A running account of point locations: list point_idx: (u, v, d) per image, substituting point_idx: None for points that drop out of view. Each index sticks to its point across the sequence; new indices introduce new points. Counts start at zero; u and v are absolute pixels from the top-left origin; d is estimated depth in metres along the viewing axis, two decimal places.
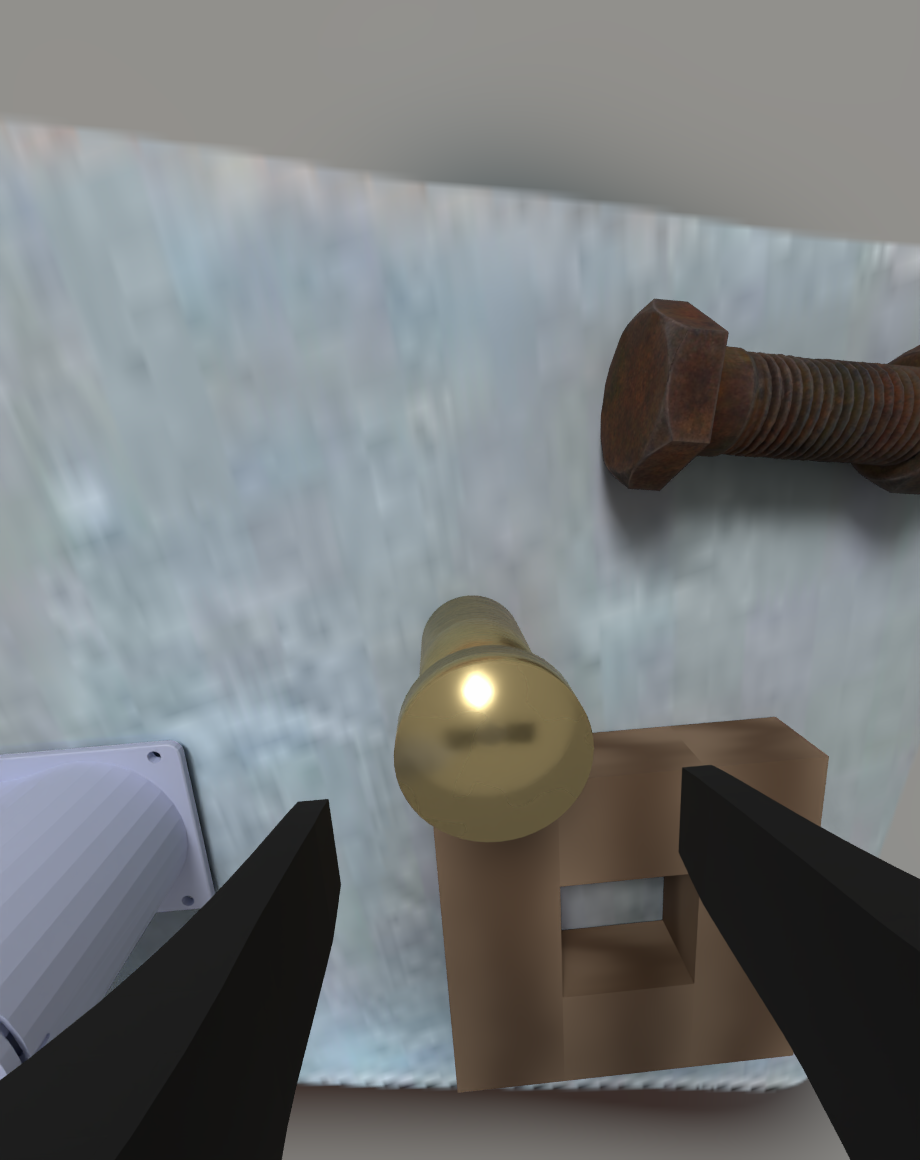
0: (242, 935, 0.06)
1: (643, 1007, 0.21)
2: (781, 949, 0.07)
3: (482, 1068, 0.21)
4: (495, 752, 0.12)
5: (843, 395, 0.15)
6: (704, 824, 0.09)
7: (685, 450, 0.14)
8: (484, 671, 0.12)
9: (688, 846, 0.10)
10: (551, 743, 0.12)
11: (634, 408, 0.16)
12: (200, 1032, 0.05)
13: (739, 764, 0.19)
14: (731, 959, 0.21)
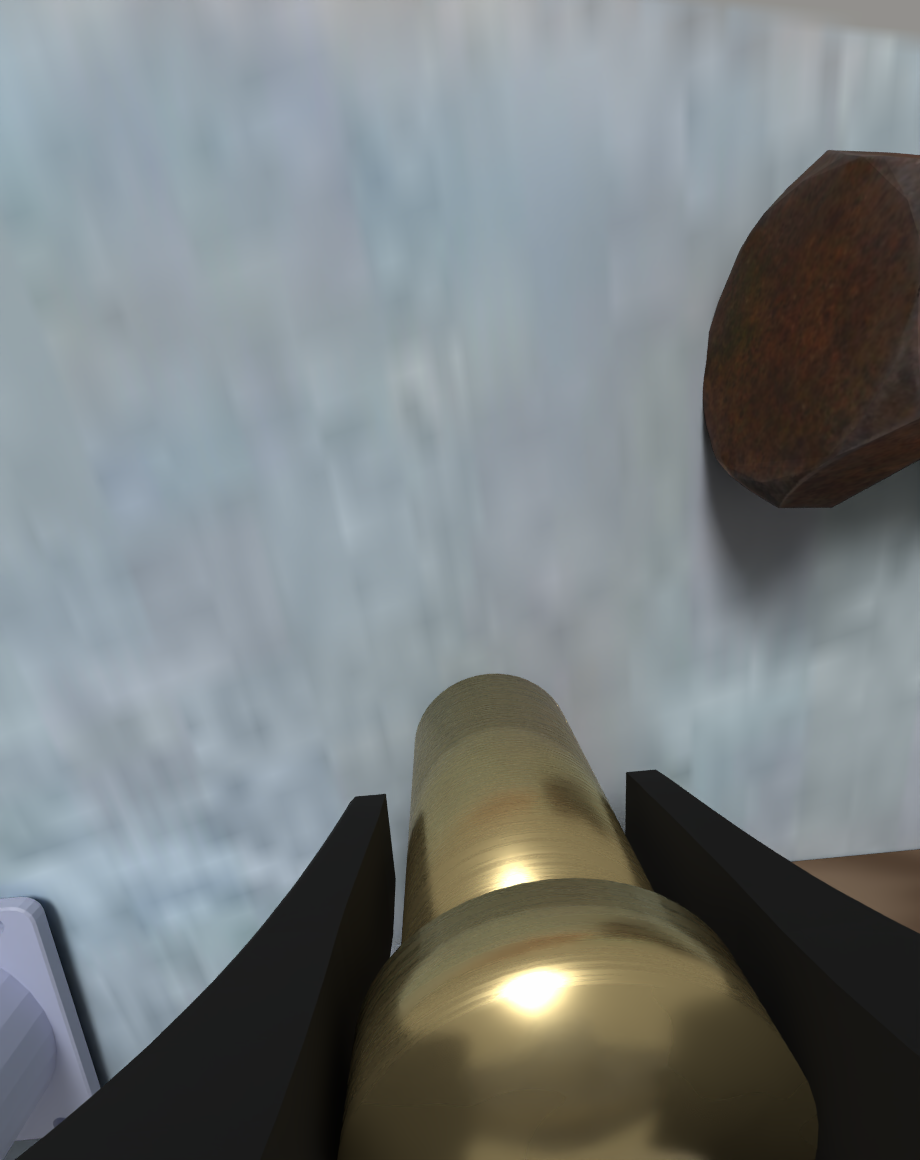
0: (331, 926, 0.06)
1: None
2: None
3: None
4: None
5: None
6: (644, 830, 0.09)
7: None
8: (564, 1004, 0.05)
9: None
10: (718, 1143, 0.05)
11: (799, 361, 0.08)
12: (312, 1020, 0.05)
13: None
14: None
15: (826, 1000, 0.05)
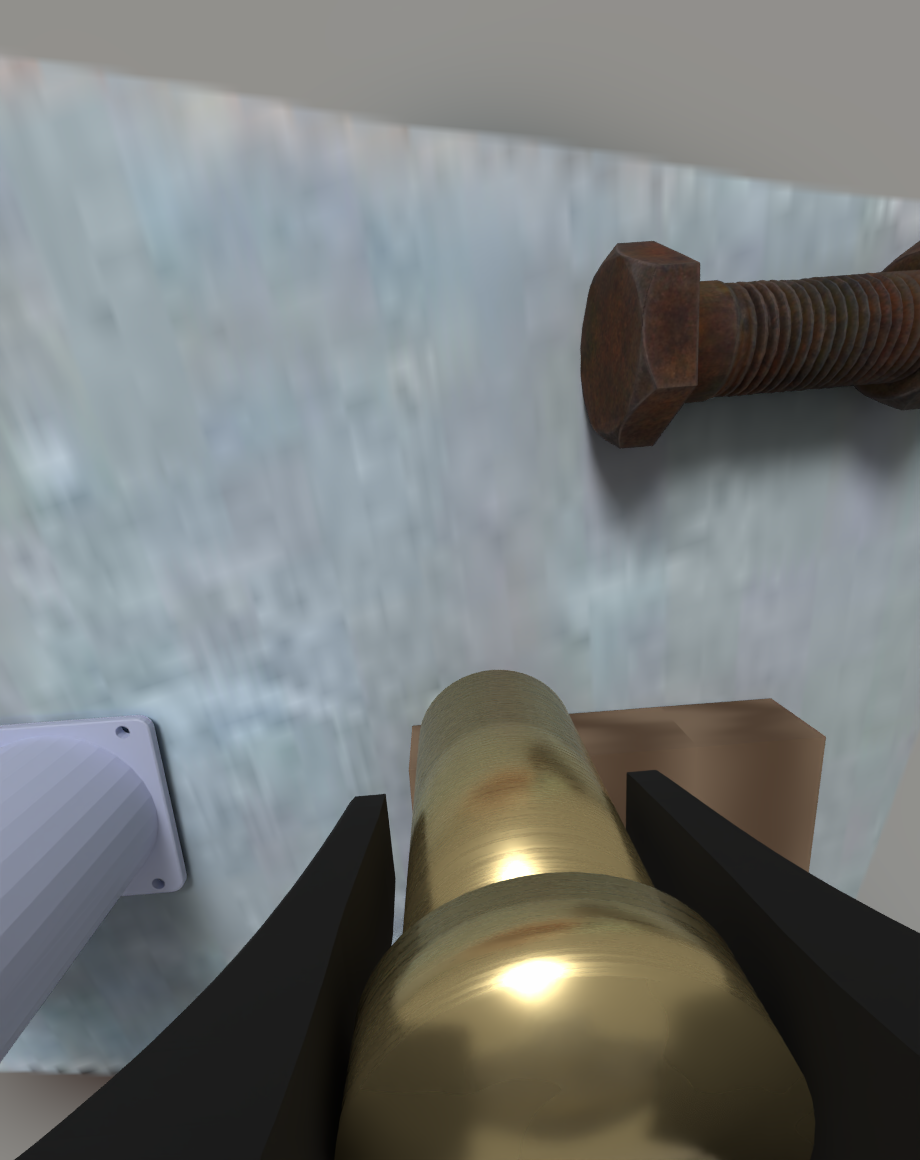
0: (331, 926, 0.06)
1: None
2: None
3: None
4: (578, 1157, 0.05)
5: (835, 312, 0.14)
6: (644, 830, 0.09)
7: (672, 397, 0.14)
8: (559, 995, 0.05)
9: None
10: (715, 1138, 0.05)
11: (613, 362, 0.15)
12: (311, 1020, 0.05)
13: (732, 743, 0.18)
14: None
15: (827, 1000, 0.05)
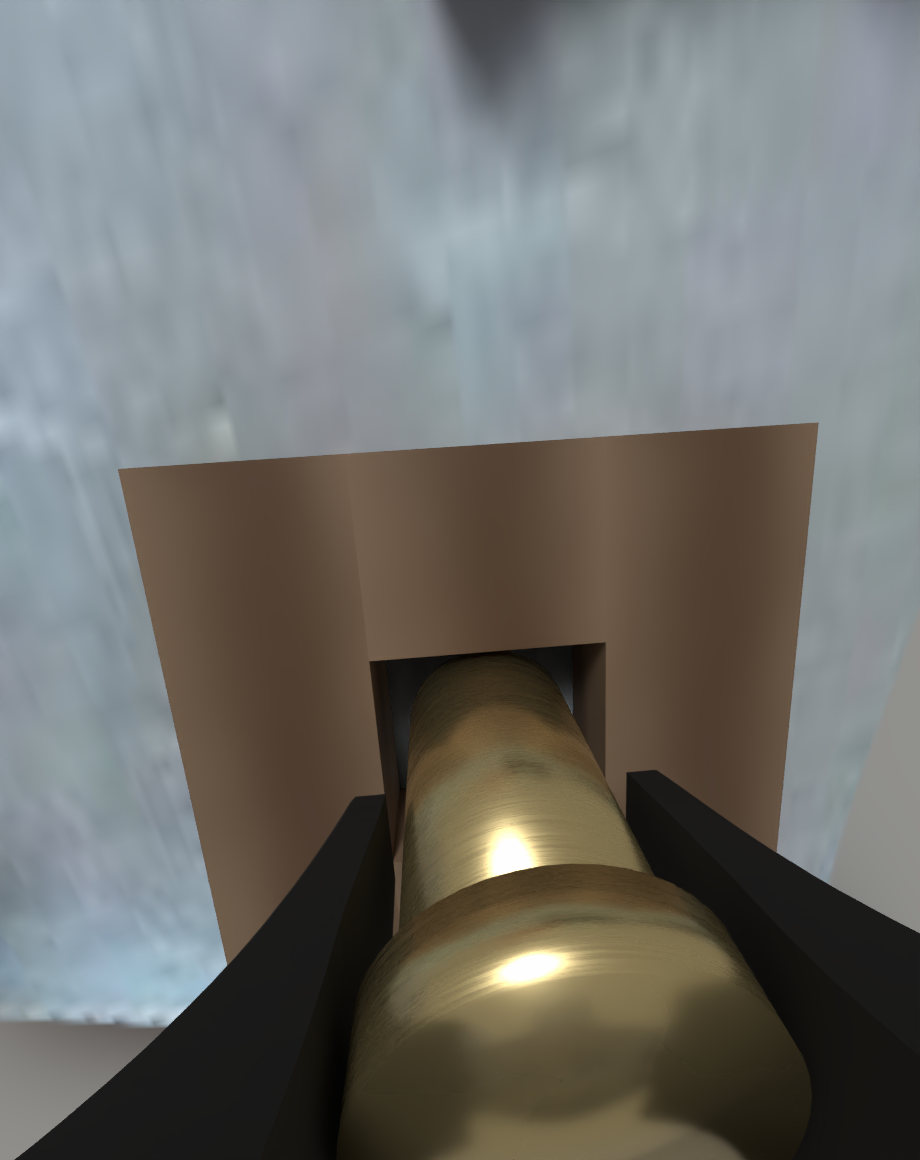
0: (331, 926, 0.06)
1: None
2: None
3: None
4: (580, 1141, 0.05)
5: None
6: (644, 830, 0.09)
7: None
8: (558, 995, 0.05)
9: None
10: (713, 1114, 0.05)
11: None
12: (311, 1020, 0.05)
13: (663, 433, 0.11)
14: None
15: (827, 1001, 0.05)
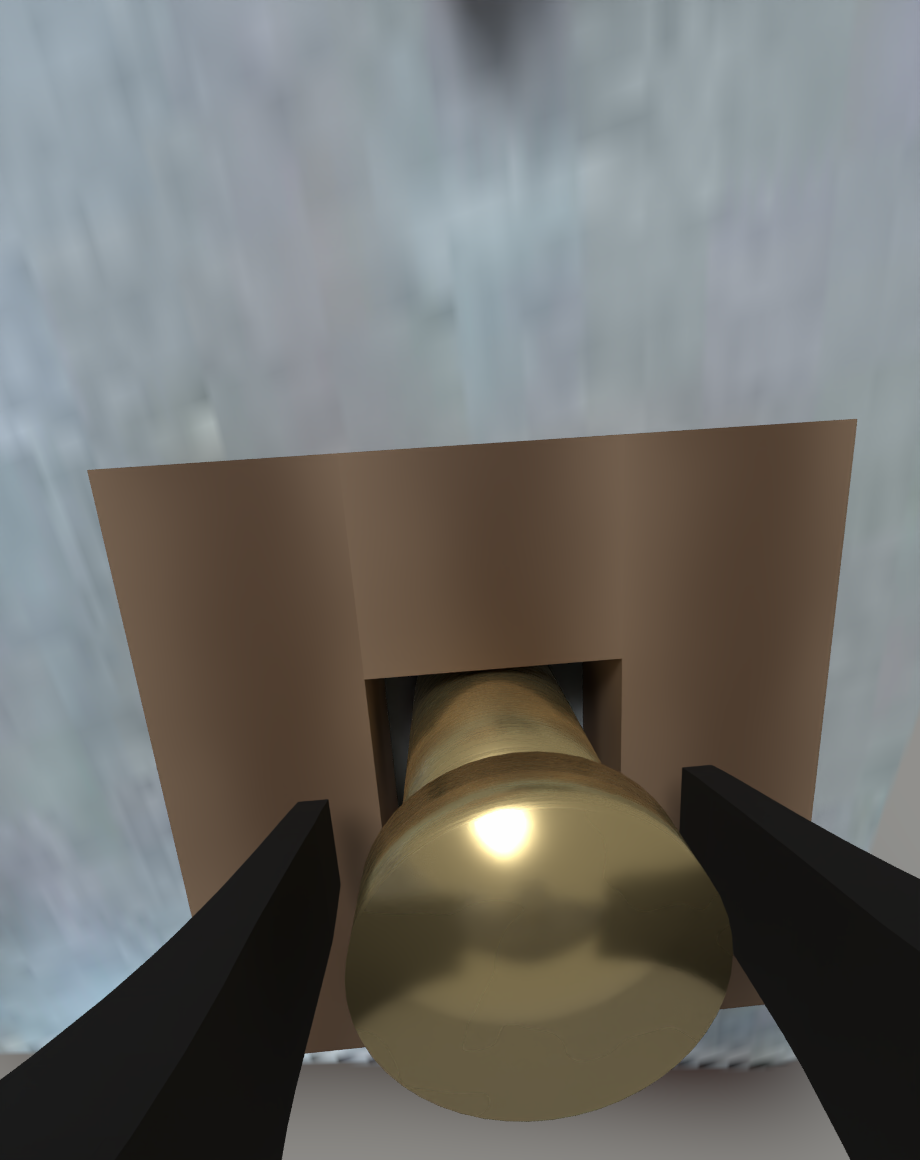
0: (242, 935, 0.06)
1: None
2: (781, 949, 0.07)
3: None
4: (542, 971, 0.06)
5: None
6: (704, 824, 0.09)
7: None
8: (517, 826, 0.06)
9: None
10: (650, 950, 0.06)
11: None
12: (200, 1032, 0.05)
13: (687, 430, 0.10)
14: None
15: None
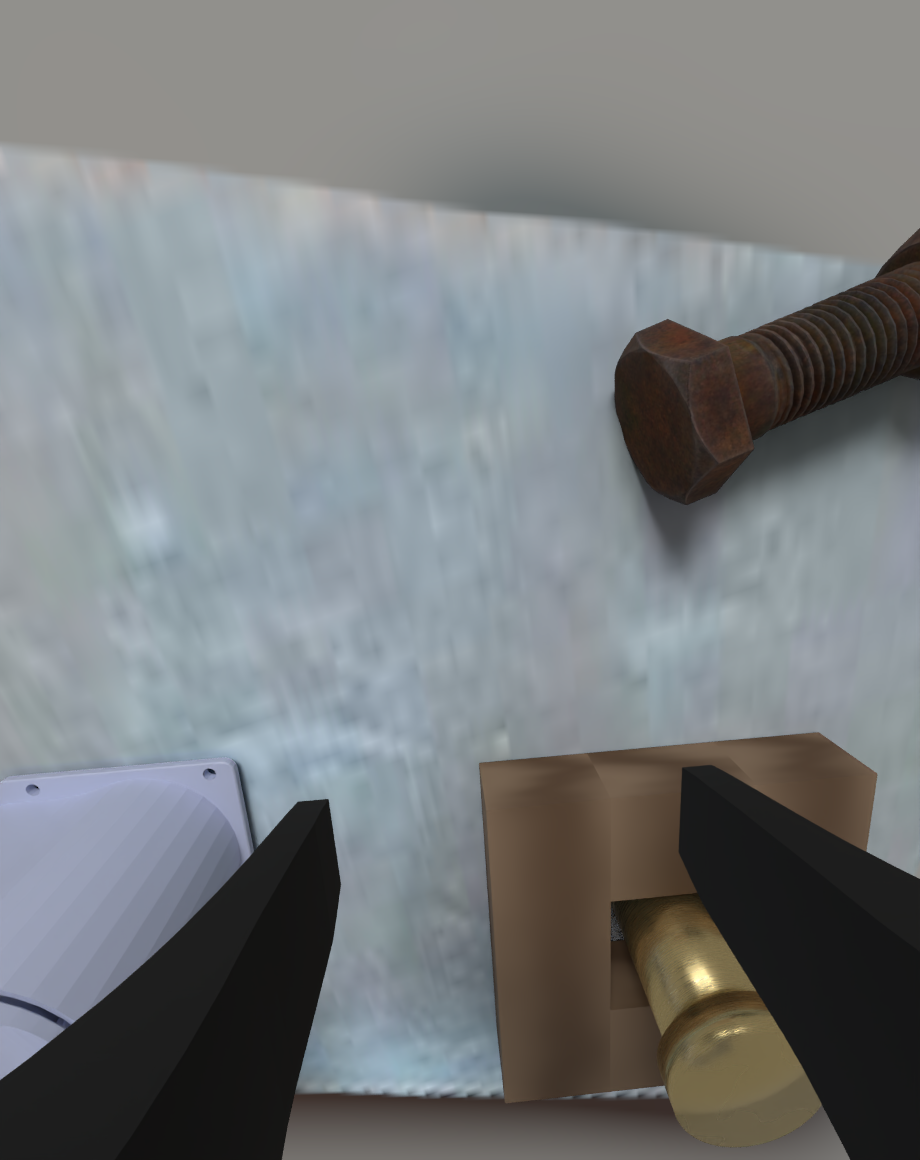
0: (242, 935, 0.06)
1: None
2: (781, 949, 0.07)
3: (529, 1079, 0.22)
4: (753, 1089, 0.16)
5: (861, 333, 0.15)
6: (704, 824, 0.09)
7: (732, 462, 0.15)
8: (750, 1039, 0.15)
9: (688, 846, 0.10)
10: (797, 1080, 0.15)
11: (662, 438, 0.16)
12: (200, 1032, 0.05)
13: (789, 781, 0.19)
14: None
15: None
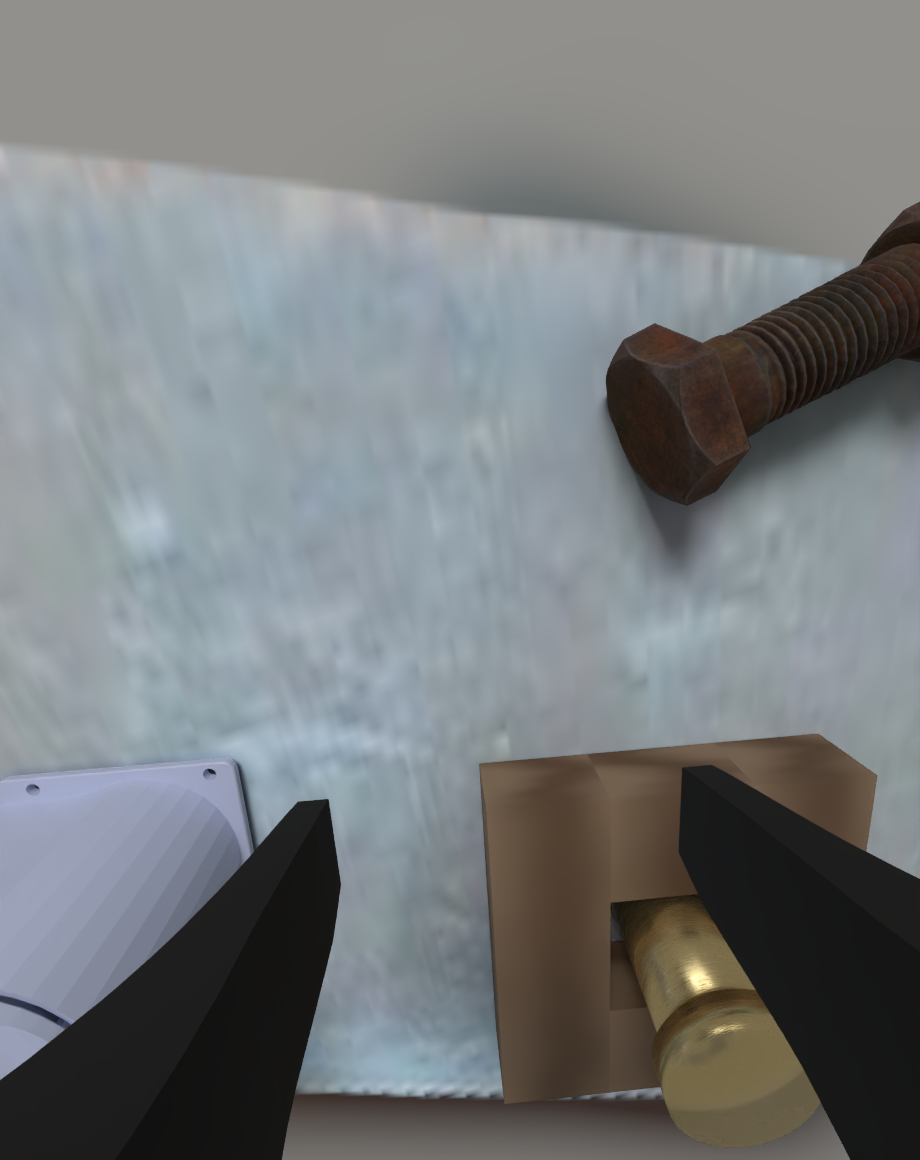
0: (242, 935, 0.06)
1: None
2: (781, 949, 0.07)
3: (529, 1080, 0.22)
4: (747, 1088, 0.15)
5: (851, 323, 0.15)
6: (704, 824, 0.09)
7: (730, 462, 0.15)
8: (742, 1036, 0.15)
9: (688, 846, 0.10)
10: (792, 1079, 0.15)
11: (658, 442, 0.16)
12: (200, 1032, 0.05)
13: (789, 783, 0.19)
14: None
15: None
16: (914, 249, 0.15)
